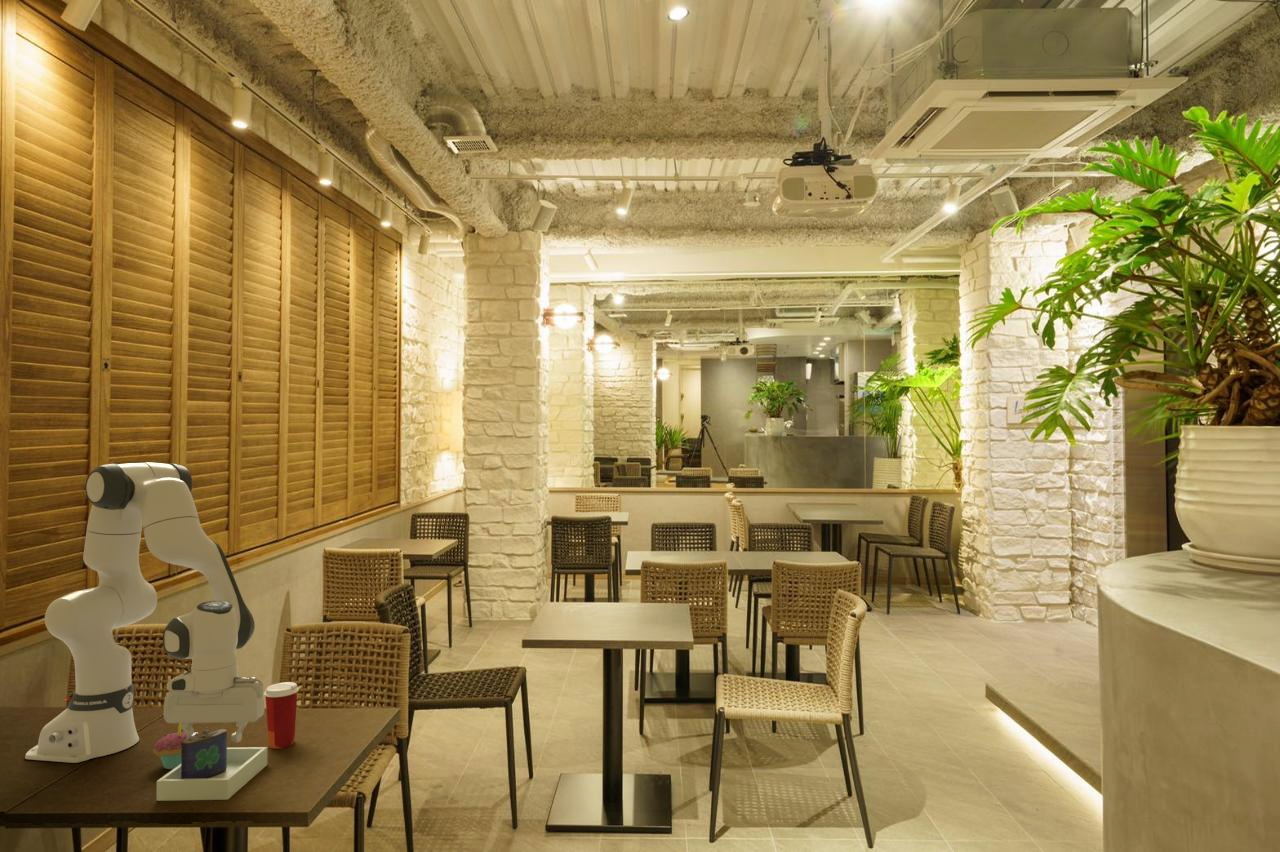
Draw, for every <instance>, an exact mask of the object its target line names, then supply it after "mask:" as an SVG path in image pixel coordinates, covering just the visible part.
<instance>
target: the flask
mask: <svg viewBox="0 0 1280 852" xmlns="http://www.w3.org/2000/svg"><path fill="white" fill-rule="evenodd" d="M202 730H203V731H202V732H201V733H200V734H199V735H198V736H195V737H194V738H192V737H189V739H187V740H184V741H183V742H182V744H181V747H182V750H181V761H182V762H181V779H208V778H210V777H213V776H216V775H218V774H221V773H223V772H224V771H226V769H227V748H228V730H227V729H224V728H221V729H217V730H214V731H212V732H210V731H211V730H212V729H211V728H209V726H206V727H205V726H204V727H203V729H202Z"/></svg>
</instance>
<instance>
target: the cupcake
mask: <svg viewBox="0 0 1280 852" xmlns="http://www.w3.org/2000/svg"><path fill="white" fill-rule="evenodd" d="M184 740H187V735H186V734H185V732H184V731H182V723H178V727H177V732H170V733H168V734H166V735H163V737H161V738H159V739H158V740H157V741H156V742H155V744H153V747H152V752H153V754H154V755H156V756H158V757H159V758H160V760H161V762H162V765H163V768H164V769H165V770H173V769H174V768H176V767H177V766H179V765H180V764H181V762H182V761H181V750H182V747H181V744H182V742H183V741H184Z"/></svg>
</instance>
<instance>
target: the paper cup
mask: <svg viewBox="0 0 1280 852" xmlns="http://www.w3.org/2000/svg"><path fill="white" fill-rule="evenodd" d="M299 690H300V689H299V687H298V684H297V683H296V682H291V681H285V682H278V683H273V684H271V685H268V686H267V687H266V688H265V691H263V697H265V710H266V726H267V737H268V740H267V742H268V747H269V748H270V749H274V750H276V749H277V750H278V749H285V748H288V747H291V746H292V745H294V744H295V743H294V742H295V738H296V737H295V735H296V723H297V720H296V719H297V706H298V703H297V701H298V692H299Z"/></svg>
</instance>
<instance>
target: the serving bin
mask: <svg viewBox="0 0 1280 852" xmlns="http://www.w3.org/2000/svg"><path fill="white" fill-rule="evenodd" d="M267 765H268V746H260V747H259V746H258V747H257V746H256V747H255V746H254V747H253V746H251V747H250V746H248V747H247V746H246V747H227V769H226V771H224V772H223V773H221V774H218V775H216V776H213V777H210V778H208V779H181V764H180V765H179V766H177V767H176V768H174V769H170V771H168V772H167V773H166V774H164V775H163V776H162V777H160V778H159V779H157V781H156V801H159V802H160V801H161V802H163V801H165V802H166V801H168V802H169V801H213V800H214V801H215V800H216V801H218V800H220V801H221V800H222V801H223V800H224V801H225V800H229V799H230V798H232V797H233V796H234V795H235V794H236V793H237V792H238V791H239V790H240V789H242V787H245V785H247V783H248V782H249V781H251V780H252V779H253V778H254V777H255V776H256V775H258V774H259V773H260V772H261V771H262V770H263V769H264V768H265V767H267Z"/></svg>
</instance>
